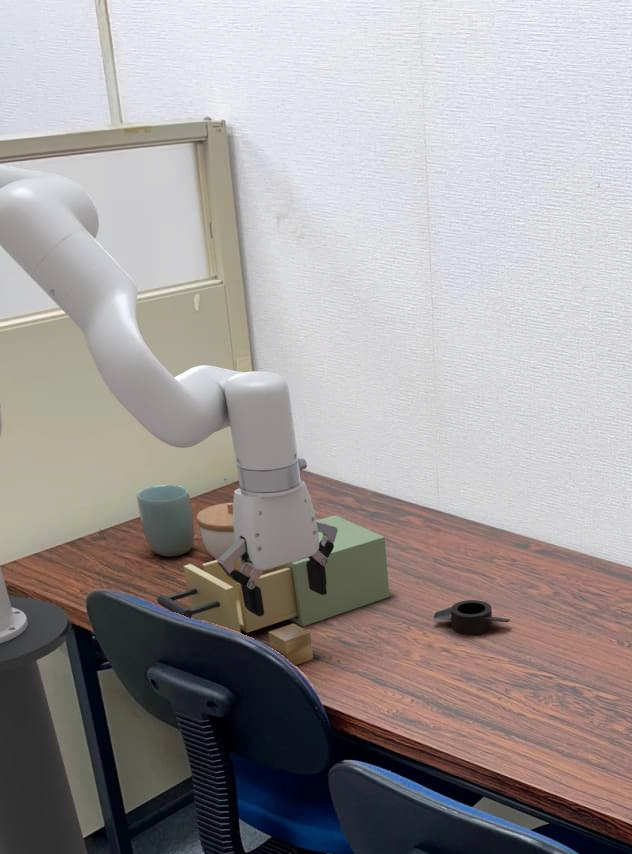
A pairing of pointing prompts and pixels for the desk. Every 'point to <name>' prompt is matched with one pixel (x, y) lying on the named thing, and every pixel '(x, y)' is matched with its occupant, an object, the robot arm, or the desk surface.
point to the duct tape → (469, 617)
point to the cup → (167, 519)
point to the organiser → (343, 574)
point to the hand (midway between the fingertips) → (287, 602)
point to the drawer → (234, 597)
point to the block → (292, 643)
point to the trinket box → (217, 528)
